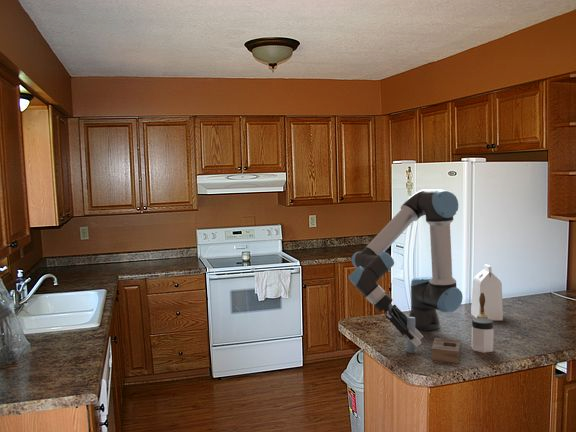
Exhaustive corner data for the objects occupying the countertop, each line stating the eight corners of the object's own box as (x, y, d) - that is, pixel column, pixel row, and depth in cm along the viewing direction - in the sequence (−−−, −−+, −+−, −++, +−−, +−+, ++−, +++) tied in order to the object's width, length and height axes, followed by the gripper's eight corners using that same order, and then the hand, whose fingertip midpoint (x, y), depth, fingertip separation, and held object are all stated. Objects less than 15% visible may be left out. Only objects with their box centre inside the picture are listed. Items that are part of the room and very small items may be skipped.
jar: (497, 349, 213) (497, 320, 212) (489, 354, 207) (489, 324, 206) (475, 344, 219) (476, 316, 218) (467, 349, 213) (467, 320, 212)
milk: (502, 320, 254) (504, 267, 252) (479, 320, 254) (480, 267, 252) (493, 313, 266) (494, 263, 264) (470, 313, 266) (471, 263, 264)
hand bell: (471, 328, 242) (472, 294, 241) (474, 323, 250) (474, 290, 248) (490, 330, 238) (491, 295, 237) (492, 325, 246) (493, 292, 244)
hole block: (434, 348, 215) (434, 337, 215) (460, 350, 211) (460, 340, 211) (431, 359, 202) (431, 348, 201) (458, 362, 198) (458, 351, 198)
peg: (407, 349, 213) (407, 316, 212) (415, 350, 212) (415, 317, 211) (406, 352, 210) (406, 318, 209) (414, 353, 209) (414, 319, 208)
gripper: (377, 299, 224) (416, 340, 220) (368, 310, 206) (410, 355, 202) (390, 288, 222) (429, 328, 218) (381, 298, 204) (424, 343, 199)
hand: (419, 341), depth 210 cm, fingers open, 7 cm apart
